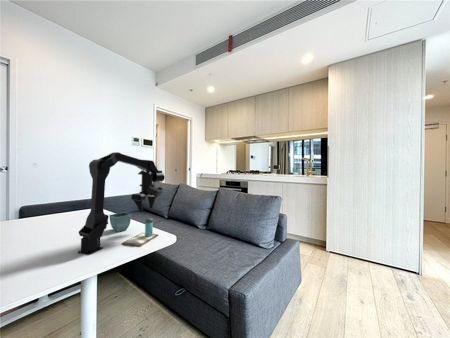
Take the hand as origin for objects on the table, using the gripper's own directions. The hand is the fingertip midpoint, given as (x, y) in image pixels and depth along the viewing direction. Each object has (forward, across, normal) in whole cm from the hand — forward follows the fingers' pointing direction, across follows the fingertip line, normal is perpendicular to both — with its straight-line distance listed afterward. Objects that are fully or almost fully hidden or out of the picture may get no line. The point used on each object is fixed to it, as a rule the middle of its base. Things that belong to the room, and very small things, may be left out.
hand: (146, 210), depth 107 cm
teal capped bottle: (+12, -6, -6) cm, 15 cm away
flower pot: (+13, -1, +16) cm, 20 cm away
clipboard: (+12, -10, -4) cm, 17 cm away
